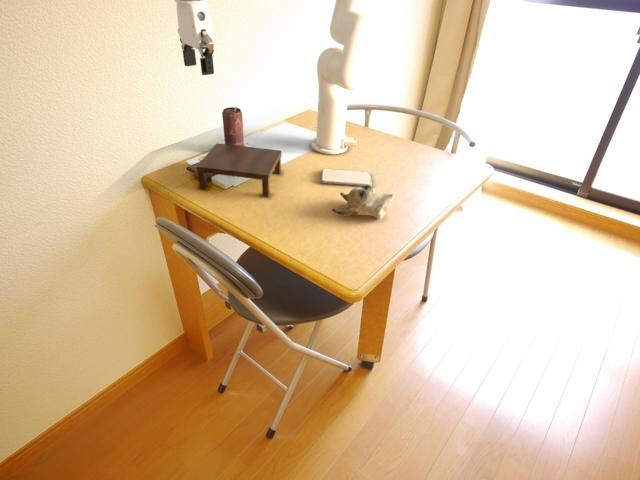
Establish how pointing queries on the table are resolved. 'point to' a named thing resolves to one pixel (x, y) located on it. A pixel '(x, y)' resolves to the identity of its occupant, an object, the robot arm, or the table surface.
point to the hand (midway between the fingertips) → (199, 69)
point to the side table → (240, 164)
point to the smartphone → (346, 177)
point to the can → (233, 126)
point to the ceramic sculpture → (365, 202)
